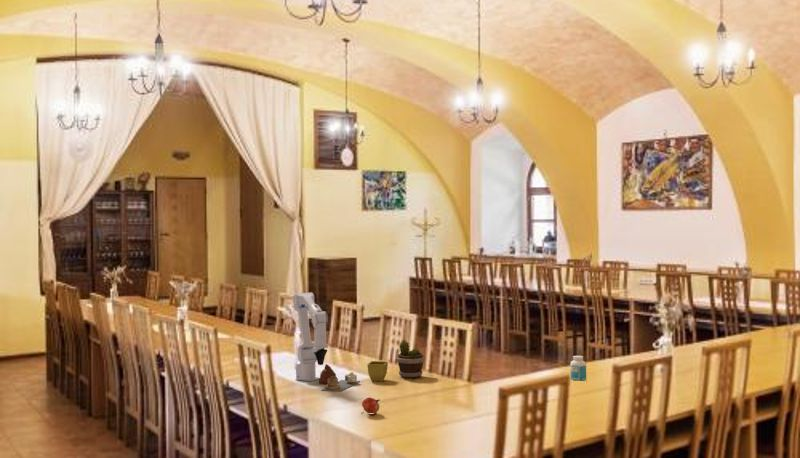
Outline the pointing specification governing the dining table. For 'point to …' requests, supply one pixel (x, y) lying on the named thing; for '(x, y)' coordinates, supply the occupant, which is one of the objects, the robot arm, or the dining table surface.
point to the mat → (341, 386)
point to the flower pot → (377, 370)
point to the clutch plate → (350, 377)
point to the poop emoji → (326, 375)
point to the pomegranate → (370, 405)
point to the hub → (351, 381)
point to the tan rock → (332, 383)
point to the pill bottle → (578, 369)
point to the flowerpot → (409, 361)
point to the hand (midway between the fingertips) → (320, 364)
